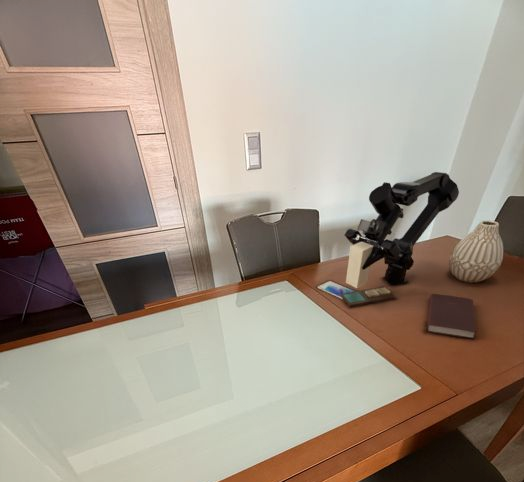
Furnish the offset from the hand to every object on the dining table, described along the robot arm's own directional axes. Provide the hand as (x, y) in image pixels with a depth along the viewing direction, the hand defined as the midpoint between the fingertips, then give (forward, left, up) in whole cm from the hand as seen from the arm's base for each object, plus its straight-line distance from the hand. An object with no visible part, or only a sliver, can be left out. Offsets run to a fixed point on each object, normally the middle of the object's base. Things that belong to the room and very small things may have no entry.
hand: (356, 266), depth 98 cm
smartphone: (+1, -9, -14) cm, 17 cm away
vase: (-48, -2, -14) cm, 50 cm away
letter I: (-1, -1, -7) cm, 7 cm away
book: (-24, +19, -14) cm, 33 cm away
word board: (-6, -1, -14) cm, 15 cm away
